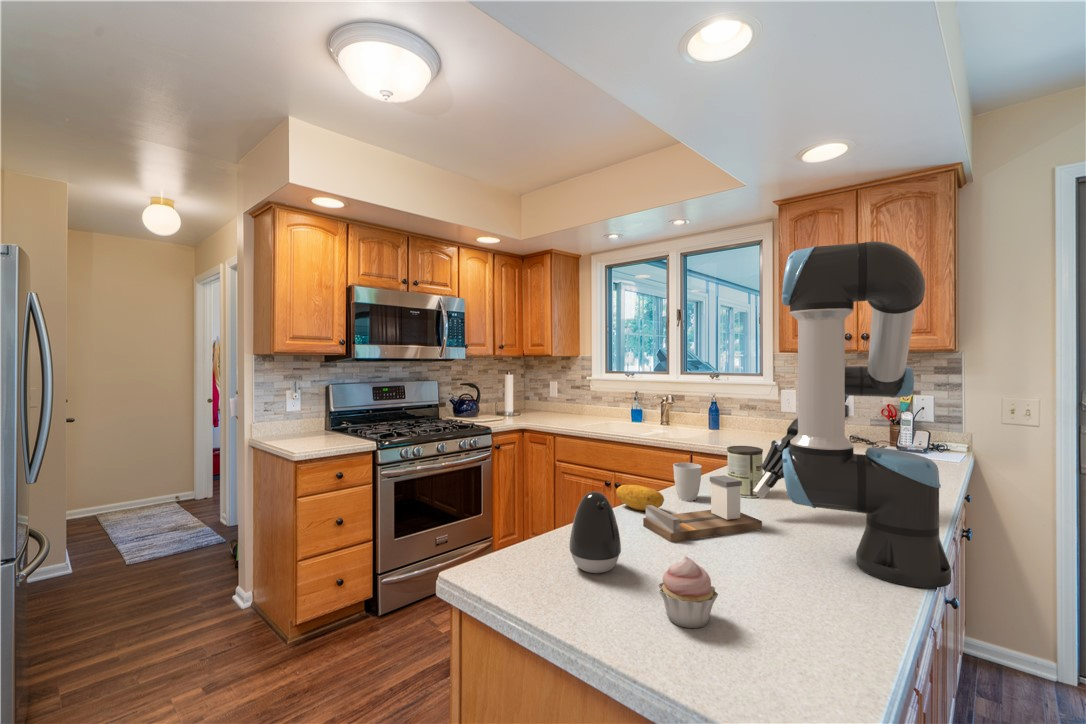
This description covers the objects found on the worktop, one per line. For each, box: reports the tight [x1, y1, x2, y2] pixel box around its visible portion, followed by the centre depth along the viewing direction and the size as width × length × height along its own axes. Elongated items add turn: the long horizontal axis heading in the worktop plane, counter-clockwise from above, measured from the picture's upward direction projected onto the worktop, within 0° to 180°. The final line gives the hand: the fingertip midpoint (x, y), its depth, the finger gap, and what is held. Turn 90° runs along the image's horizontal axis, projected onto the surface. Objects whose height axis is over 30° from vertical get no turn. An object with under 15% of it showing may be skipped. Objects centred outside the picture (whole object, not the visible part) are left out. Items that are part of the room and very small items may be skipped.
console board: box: [642, 505, 763, 543], centre depth 125 cm, size 26×12×5 cm, turn 110°
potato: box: [615, 484, 665, 512], centre depth 140 cm, size 8×14×7 cm, turn 44°
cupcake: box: [657, 555, 719, 629], centre depth 81 cm, size 9×9×10 cm
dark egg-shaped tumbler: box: [569, 491, 622, 574], centre depth 100 cm, size 10×10×15 cm
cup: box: [672, 462, 703, 502], centre depth 150 cm, size 8×8×10 cm
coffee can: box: [726, 445, 764, 499], centre depth 156 cm, size 10×10×14 cm
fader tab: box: [709, 475, 742, 520], centre depth 127 cm, size 5×6×9 cm
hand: (757, 494), depth 131 cm, fingers closed
